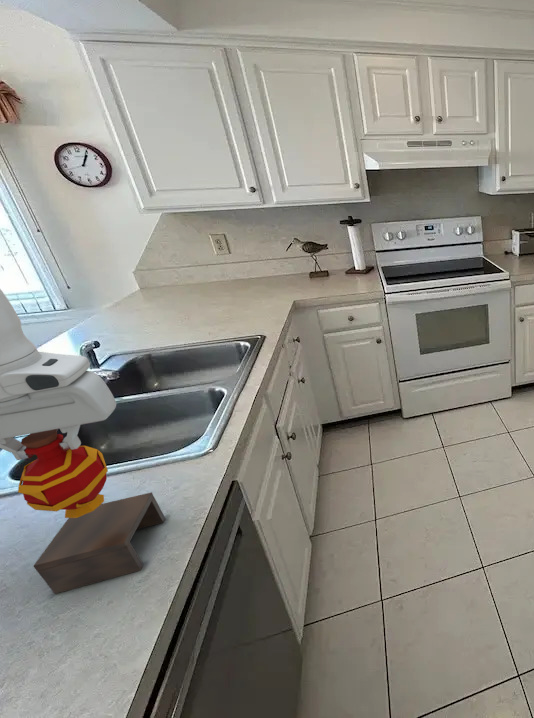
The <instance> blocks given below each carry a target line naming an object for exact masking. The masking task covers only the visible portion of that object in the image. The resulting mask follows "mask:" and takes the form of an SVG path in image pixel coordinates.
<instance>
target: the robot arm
mask: <svg viewBox="0 0 534 718" xmlns="http://www.w3.org/2000/svg"><path fill="white" fill-rule="evenodd" d="M90 367H91V362H90V360H89V358H88V357H86V356H84V355H76V354H75V355H74V354H62V353H54V352H46V351H38V349H37V347H36V345H35V344H34V342H32V341H30V339H29V338H27V336H26V335H25V333H24V332H23V329H22V321H21V319H20V317H19V316H18V313H17V312H16V310H15V309H14V306H13V305H12V304H11V302H10V300H9V299H8V297H7V296H6V295H5V293H4V291H3V290H2V289H1V288H0V449H1V450H3V451H6V452H8V453H11V454H12V455H13V457H14V458H15V459H16V461H21V460H22V461H23V460H27V459H32V457H33V456H34V455H35V454H26V453H25V451H26V446H24V445H22V444H21V441H20V440H18V439H16V437H20V436H27V435H29V434H32V433H37V432H43V431H48V430H54V429H57V430H58V429H59V430H60V432H61V433H62V434H66V436H65V437H63V440H62V441H61V442H60V443H59V444H60V446H61V447H62V448H63V450H64V451H68V450H73V449H77V448H78V447H79V446H82V445H81V444H82V442H81V439H80V438H79V436H78V434H79V431H80V428H81V426H82V425H86V424H92V423H97V422H103V421H105V420H107V419H108V418H109V417H110V416H111V415H112V413H114V411H115V409H116V407H117V401H116V398H115V396H114V394H113V393H112V391H111V390H110V388H109V386H108V385H107V383H106V382H105V381H104V379H103V378H102V377H101V376H100V375H99V374H98V373H96V372H94V371H91V370H88V369H89V368H90Z"/></svg>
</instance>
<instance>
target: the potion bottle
mask: <svg viewBox="0 0 534 718" xmlns="http://www.w3.org/2000/svg"><path fill="white" fill-rule="evenodd" d="M63 439H64V435H63V434H60V433H58V429H54V430H48V431H43V432H37V433H32V434H27V435H25V437H22V438H21V441H20V442H21V444H22V445H24V446H26V451H25V453H26V454H34V455H35V456H36V459H35V460H33V461H30V462H29V463H28V464H26V465H24V466H23V471H22V473H21V477H20V480H19V484H18V489H17V493H19V494H22V495H23V499H24V501H26V505H27V506H28V507H30V508H32V509H33V510H35V511H42V512H43V511H44V512H45V511H47V512H59V511H60V510H61V511H62V510H63V511H65V512H64V518H65V519H68V518H78V517H80V516H82V515H85V514H87V513H90V512H92V511H94V510H95V509H96V508H97V507H98V506H99V505H101V504H103V503H105V495H104V494H101V491H102V490H103V489H104V487H105V484H106V482H107V479H108V478H107V477H108V476H107V473H108V472H109V470H108V466H107V464H106V460H105V458H104V455H103V452H101V451H100V450H99V449H97V448H94V447H91V446H88V445H80V446H79V447H78V448H77V449H73V450H68V451H64V450H63V447H61V446H60V444H59V443H60V442H61V441H62V440H63Z"/></svg>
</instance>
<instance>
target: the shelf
mask: <svg viewBox="0 0 534 718" xmlns="http://www.w3.org/2000/svg"><path fill="white" fill-rule="evenodd" d="M165 520H166V517H165V515H164V513H163V510H162V509H161V507H160V504H159V503H158V502H157V499H156V498H155V496H154V494H153V492H147V493H142V494H138V495H134V496H129V497H125V498H121V499H117V500H112V501H108V502H103V503H102V504H101V505H99V506H98V507H97V508H96V509H95V510H94V511H92V512H90V513H87V514H85V515H82V516H80V517H78V518H67V519H66V520H65V522H64V524H63V525H62V526H61V528H60V529H59V530H58V532H57V533H56V534H55V536H54V537H53V538H52V540H51V541H50V542H49V544H48V545H47V546H46V548H45V549H44V550H43V552H41V554H40V556H39V557H38V559H37V560H36V561H35V563H34V564H33V568H34V570H36V572H37V573H38V574H39V575H40V577H41V578H42V580H43V581H44V582H45V584H46V585H47V586H48V588H50V590H51V591H52V592H53V594H55V595H56V594H59V593H60V594H61V593H63V592H66V591H67V592H68V591H70V590H74V589H77V588H81V587H85V586H88V585H93V584H96V583H100V582H102V581H106V580H110V579H114V578H118V577H122V576H125V575H128V574H131V573H135V572H139V571H142V568H143V567H144V563H143V561H142V560H141V558H140V556H139V555H138V553H137V552H136V550H135V548H134V546H133V545H132V543H131V540H132V538H133V537H134V535H135V533H136V531H137V530H140V529H144V528H148V527H151V526H155V525H156V526H157V525H159V524H163V523H164V522H165Z"/></svg>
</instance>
